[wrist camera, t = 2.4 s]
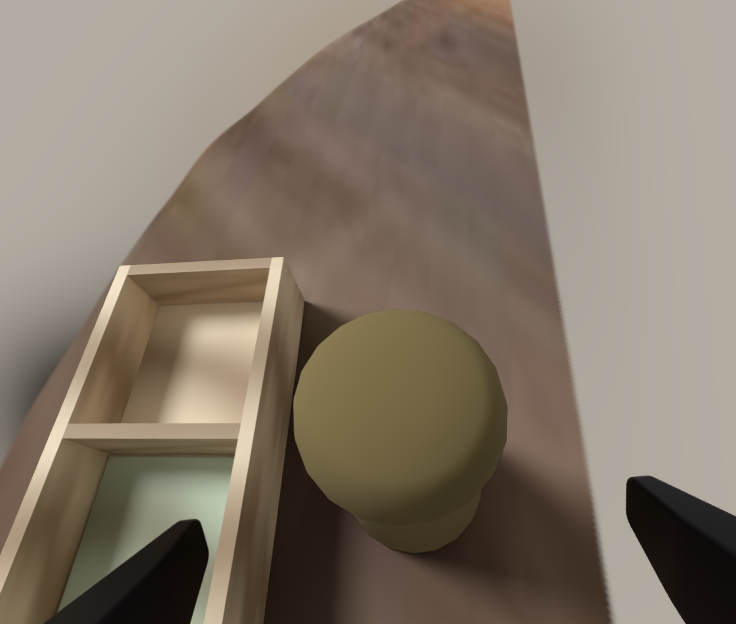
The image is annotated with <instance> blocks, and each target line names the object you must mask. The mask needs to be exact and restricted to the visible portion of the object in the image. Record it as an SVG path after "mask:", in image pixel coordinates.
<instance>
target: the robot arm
mask: <svg viewBox="0 0 736 624" xmlns="http://www.w3.org/2000/svg"><path fill="white" fill-rule="evenodd" d="M626 515H627V519H628V521H629V524H630V526H631V528H632V529H633V532H634V533H635V535H636V537H637V539H638V541H639V543H640V544H641V546H642V548H643V550H644V552H645V554H646V556H647V557H648V559H649V561H650V563H651V565H652V567H653V568H654V570H655V572H656V574H657V576H658V578H659V580H660V582H661V583H662V585H663V587H664V589H665V591H666V593H667V594H668V596H669V598H670V600H671V601H672V603H673V605H674V606H675V608H676V609H677V611H678V612H679V614H680V616H681V617H682V619H683V620H684V622H685V623H686V624H736V516H734V515H732V514H730V513H728V512H726V511H724V510H721V509H719V508H717V507H715V506H713V505H711V504H709V503H707V502H705V501H702V500H700V499H698V498H696V497H694V496H692V495H690V494H688V493H686V492H684V491H682V490H680V489H678V488H675V487H673V486H671V485H669V484H667V483H665V482H663V481H661V480H658V479H656V478H654V477H652V476H636V477H630V478H629V479H628V480H627V484H626ZM208 559H209V549H208V545H207V541H206V538H205V535H204V531H203V528H202V524H201V522H200V521H199V520H198V519H187V520H180V521H178V522H176V523H175V524H174V525H172V526H171V527H170V528H169V529H167V530H166V531H165V532H163V533H162V534H161V535H159V536H158V537H157V538H155V539H154V540H153V541H151V542H150V543H149V544H147V545H146V546H145V547H143V548H142V549H141V550H139V551H138V552H137V553H135V554H134V555H133V556H132V557H130V558H129V559H128V560H126V561H125V562H124V563H122V564H121V565H120V566H118V567H117V568H116V569H114V570H113V571H112V572H110V573H109V574H108V575H106V576H105V577H104V578H102V579H101V580H100V581H99V582H97V583H96V584H95V585H93V586H92V587H91V588H89V589H88V590H87V591H85V592H84V593H83V594H81V595H80V596H79V597H77V598H76V599H75V600H73V601H72V602H71V603H69V604H68V605H67V606H65V607H64V608H63V609H62V610H60V611H59V612H58V613H56V614H55V615H54V616H52V617H51V618H50V619H48V620H47V621H46V622H44V623H43V624H190V623H191V620H192V616H193V613H194V609H195V606H196V602H197V599H198V595H199V592H200V588H201V585H202V581H203V578H204V574H205V571H206V567H207V564H208Z"/></svg>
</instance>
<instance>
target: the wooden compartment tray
mask: <svg viewBox="0 0 736 624" xmlns="http://www.w3.org/2000/svg"><path fill="white" fill-rule="evenodd" d="M304 303H305V300H304V298H303V296H302V294H301V292H300V290H299V288H298V285H297V283H296V281H295V279H294V277H293V275H292V273H291V271H290V269H289V267H288V265H287V263H286V261H285V259H284V257H276V258H257V259H239V260H221V261H203V262H184V263H166V264H148V265H129V266H120V267H119V269H118V272H117V274H116V276H115V279H114V281H113V284H112V286H111V289H110V291H109V293H108V296H107V298H106V301H105V303H104V306H103V308H102V310H101V313H100V315H99V318H98V320H97V323H96V325H95V327H94V330H93V332H92V335H91V337H90V339H89V342H88V344H87V347H86V349H85V352H84V354H83V356H82V359H81V361H80V364H79V366H78V369H77V371H76V373H75V376H74V378H73V381H72V383H71V386H70V388H69V390H68V393H67V395H66V398H65V400H64V402H63V405H62V407H61V410H60V412H59V415H58V417H57V419H56V422H55V424H54V427H53V429H52V432H51V434H50V436H49V439H48V441H47V444H46V446H45V449H44V451H43V453H42V456H41V458H40V461H39V463H38V465H37V468H36V470H35V473H34V475H33V478H32V480H31V482H30V485H29V487H28V490H27V492H26V495H25V497H24V499H23V502H22V504H21V507H20V509H19V512H18V514H17V516H16V519H15V521H14V524H13V526H12V528H11V531H10V533H9V536H8V538H7V541H6V543H5V545H4V548H3V550H2V553H1V555H0V624H43V623H44V622H46V621H47V620H48V619H50V618H51V617H52V616H54V615H55V614H56V613H58V612H59V611H60V610H62V609H63V608H64V607H65V606H67V605H68V604H69V603H71V602H72V601H73V600H75V599H76V598H77V597H79V596H80V595H81V594H83V593H84V592H85V591H87V590H88V589H89V588H91V587H92V586H93V585H95V584H96V583H97V582H99V581H100V580H101V579H102V578H104V577H105V576H106V575H108V574H109V573H110V572H112V571H113V570H114V569H116V568H117V567H118V566H120V565H121V564H122V563H124V562H125V561H126V560H128V559H129V558H130V557H132V556H133V555H134V554H135V553H137V552H138V551H139V550H141V549H142V548H143V547H145V546H146V545H147V544H149V543H150V542H151V541H153V540H154V539H155V538H157V537H158V536H159V535H161V534H162V533H163V532H165V531H166V530H167V529H169V528H170V527H171V526H172V525H174V524H175V523H176V522H178V521H180V520H187V519H198V520H199V521H200V522H201V524H202V528H203V531H204V535H205V538H206V541H207V545H208V549H209V559H208V564H207V567H206V571H205V574H204V578H203V581H202V585H201V588H200V592H199V595H198V599H197V602H196V606H195V609H194V613H193V616H192V620H191V623H190V624H263V622H264V615H265V607H266V599H267V591H268V583H269V576H270V568H271V560H272V552H273V544H274V537H275V529H276V521H277V513H278V505H279V498H280V490H281V482H282V474H283V466H284V459H285V451H286V443H287V435H288V427H289V420H290V412H291V404H292V396H293V388H294V381H295V373H296V365H297V357H298V349H299V342H300V334H301V326H302V318H303V310H304Z"/></svg>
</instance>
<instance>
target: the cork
mask: <svg viewBox="0 0 736 624" xmlns="http://www.w3.org/2000/svg"><path fill="white" fill-rule="evenodd" d="M507 408H508V406H507V403H506V399H505V396H504V393H503V390H502V386H501V383H500V380H499V377H498V373H497V370H496V367H495V366H494V364H493V363H492V361H491V360H490V359H489V357H488V356H487V354H486V353H485V352H484V350H483V349H482V347H481V346H480V344H479V343H478V342H477V341H476V340H475V339H474V338H472V337H471V336H470V335H468V334H467V333H466V332H465V331H463V330H462V329H461V328H459V327H458V326H457V325H455V324H454V323H453V322H450V321H447V320H445V319H442V318H440V317H437V316H435V315H432V314H430V313H427V312H423V311H412V310H402V309H391V310H385V311H379V312H373V313H367V314H365V315H363V316H361V317H359V318H357V319H355V320H353V321H350V322H348V323H346V324H344V325H342V326H340V327H339V328H338V329H337V330H336V331H334V332H333V333H332V334H331V335H330V336H329V337H328V338H326V339H325V340H324V341H323V342H322V343H321V344H319V345H318V347H317V348H316V350H315V351H314V353H313V354H312V356H311V357H310V359H309V361H308V362H307V364H306V365H305V367H304V368H303V370H302V372H301V375H300V379H299V382H298V386H297V389H296V393H295V396H294V400H293V409H294V435H295V441H296V444H297V446H298V449H299V452H300V455H301V457H302V460H303V463H304V466H305V468H306V471H307V473H308V474H309V475H310V477H311V478H312V479H313V480H314V482H315V483H316V484H317V485H318V486H319V488H320V489H321V490H322V491H323V493H324V494H325V495H326V496H327V498H328V499H329V500H331V501H332V502H334V503H335V504H337V505H339V506H340V507H342V508H344V509H345V510H347V511H348V512H350V513H352V514H353V515H354V517H355V518H356V520H357V521H358V522H359V523H360V524H361V526H362V527H363V528H364V529H365V531H366V532H367V533H368V534H369V535H370V536H371V537H372V538H374V539H376V540H377V541H379V542H380V543H382V544H384V545H385V546H387V547H388V548H390V549H395V550H399V551H404V552H408V553H413V554H414V553H420V552H427V551H434V550H438V549H439V548H441V547H443V546H445V545H447V544H448V543H450V542H452V541H454V540H456V539H457V538H458V537H459V536H460V535H461V533H462V532H463V531H464V530H465V529H466V528H467V526H468V525H469V524H470V523H471V522H472V520H473V518H474V515H475V513H476V510H477V508H478V505H479V502H480V500H481V489H482V487H483V486H484V485H485V484H486V483H487V482H488V480H489V479H490V478H491V477H492V476H493V475H494V472H495V470H496V467H497V464H498V462H499V459H500V457H501V454H502V452H503V449H504V446H505V444H506V441H507Z"/></svg>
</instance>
